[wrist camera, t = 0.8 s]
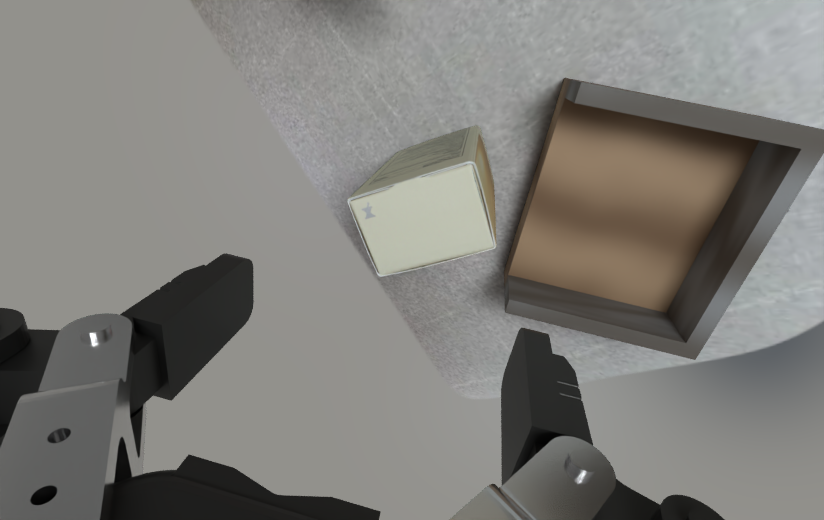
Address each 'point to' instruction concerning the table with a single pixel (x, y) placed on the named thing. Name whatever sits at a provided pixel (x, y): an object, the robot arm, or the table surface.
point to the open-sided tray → (650, 214)
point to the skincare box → (428, 204)
